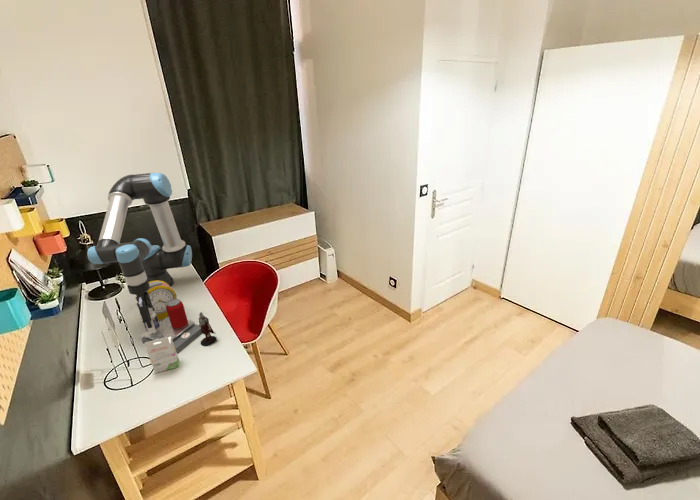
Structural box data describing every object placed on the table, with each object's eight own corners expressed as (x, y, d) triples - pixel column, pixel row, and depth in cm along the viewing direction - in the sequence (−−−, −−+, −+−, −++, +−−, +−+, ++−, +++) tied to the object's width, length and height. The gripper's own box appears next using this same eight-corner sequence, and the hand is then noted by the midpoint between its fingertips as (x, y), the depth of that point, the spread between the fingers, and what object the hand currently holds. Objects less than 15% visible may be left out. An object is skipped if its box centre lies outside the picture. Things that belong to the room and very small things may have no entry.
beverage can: (184, 318, 162) (178, 296, 157) (190, 324, 157) (184, 301, 152) (169, 325, 158) (162, 302, 153) (175, 331, 153) (168, 308, 148)
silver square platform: (170, 318, 166) (169, 315, 165) (195, 324, 160) (194, 321, 159) (142, 338, 153) (141, 335, 152) (168, 345, 148) (167, 342, 147)
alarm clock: (148, 325, 166) (137, 292, 158) (144, 318, 171) (132, 285, 164) (181, 312, 174) (171, 280, 167) (176, 305, 180) (166, 274, 172)
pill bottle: (154, 333, 150) (147, 314, 146) (143, 332, 151) (136, 313, 147) (163, 325, 155) (156, 307, 151) (152, 324, 156) (145, 306, 152)
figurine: (197, 344, 152) (188, 315, 145) (209, 334, 158) (202, 305, 151) (208, 348, 149) (200, 318, 143) (221, 337, 155) (213, 308, 149)
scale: (171, 322, 167) (170, 316, 166) (204, 330, 160) (203, 325, 159) (142, 343, 154) (140, 337, 153) (177, 353, 147) (175, 347, 145)
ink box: (179, 359, 144) (169, 329, 137) (178, 367, 139) (168, 337, 133) (155, 365, 141) (145, 335, 135) (154, 373, 137) (143, 343, 130)
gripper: (129, 274, 150) (145, 319, 160) (123, 295, 135) (141, 343, 144) (149, 270, 153) (163, 315, 162) (145, 290, 137) (161, 338, 147)
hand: (153, 328), depth 153 cm, fingers closed on pill bottle, 5 cm apart
